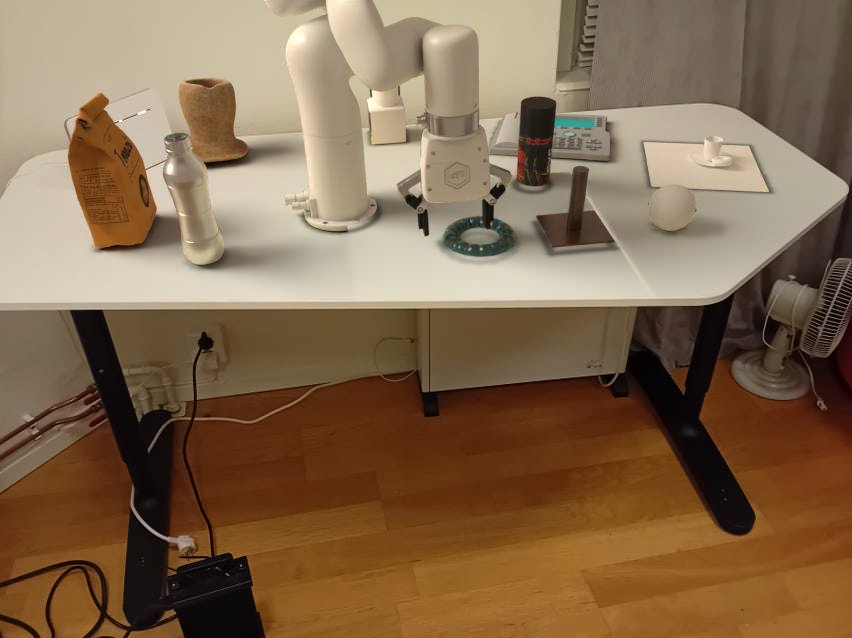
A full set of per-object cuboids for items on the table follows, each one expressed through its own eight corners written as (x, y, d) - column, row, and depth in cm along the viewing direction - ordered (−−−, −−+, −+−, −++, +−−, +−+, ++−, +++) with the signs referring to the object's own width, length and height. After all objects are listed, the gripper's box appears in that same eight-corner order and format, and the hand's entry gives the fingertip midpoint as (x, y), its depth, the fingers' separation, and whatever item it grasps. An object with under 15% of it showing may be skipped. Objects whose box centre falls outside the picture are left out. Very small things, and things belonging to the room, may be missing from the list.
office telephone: (487, 142, 142) (502, 105, 157) (487, 155, 144) (501, 116, 159) (610, 148, 138) (613, 109, 153) (608, 161, 139) (611, 121, 154)
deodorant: (547, 193, 130) (555, 109, 121) (514, 191, 131) (519, 108, 122) (549, 178, 135) (557, 97, 125) (517, 176, 136) (522, 95, 126)
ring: (449, 265, 113) (449, 252, 111) (438, 229, 121) (438, 216, 120) (522, 259, 113) (523, 245, 112) (506, 223, 122) (506, 210, 121)
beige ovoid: (697, 238, 116) (707, 196, 112) (649, 239, 117) (658, 197, 112) (681, 209, 124) (690, 168, 120) (637, 209, 125) (644, 169, 120)
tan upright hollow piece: (249, 141, 152) (236, 67, 143) (248, 165, 143) (234, 88, 134) (175, 148, 151) (156, 74, 141) (169, 172, 142) (149, 95, 132)
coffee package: (168, 214, 128) (134, 88, 114) (146, 251, 119) (106, 118, 105) (113, 215, 129) (72, 89, 115) (86, 251, 119) (38, 119, 105)
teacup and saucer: (736, 171, 134) (741, 150, 132) (691, 169, 136) (695, 148, 133) (728, 152, 141) (733, 131, 139) (685, 150, 142) (690, 130, 140)
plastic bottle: (189, 273, 113) (156, 150, 100) (182, 253, 118) (149, 133, 105) (231, 263, 115) (203, 141, 102) (222, 244, 120) (194, 125, 107)
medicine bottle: (369, 131, 155) (365, 73, 147) (402, 129, 155) (400, 71, 147) (371, 145, 149) (367, 85, 141) (406, 142, 149) (404, 83, 142)
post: (551, 254, 114) (557, 186, 107) (535, 223, 122) (540, 158, 115) (613, 248, 115) (624, 180, 108) (593, 218, 123) (602, 152, 115)
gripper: (394, 137, 100) (403, 246, 111) (518, 124, 101) (515, 233, 112) (389, 118, 106) (398, 223, 117) (506, 105, 107) (505, 211, 118)
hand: (456, 228), depth 114 cm, fingers open, 9 cm apart
